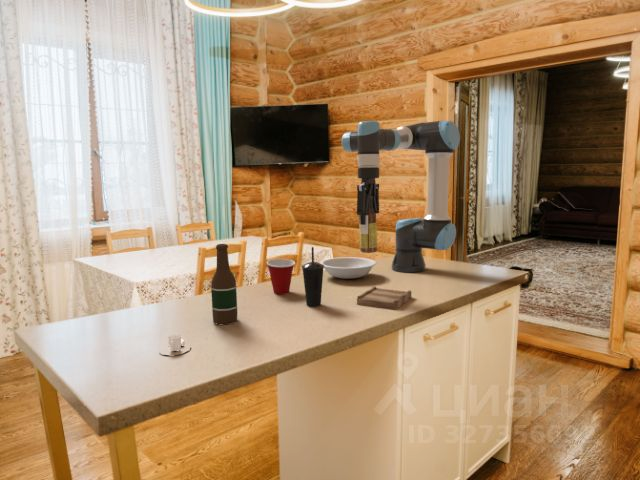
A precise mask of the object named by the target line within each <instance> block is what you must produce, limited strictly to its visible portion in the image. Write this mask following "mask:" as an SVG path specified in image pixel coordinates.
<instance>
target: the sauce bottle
mask: <svg viewBox="0 0 640 480" xmlns="http://www.w3.org/2000/svg"><path fill="white" fill-rule="evenodd" d="M372 200H373V196H370V197H369V202H368V210H367V215H368V234H360V215H358V220H359V222H358V224H359V225H358V228H359V230H358V231H359V248H360V252H362V253H367V254H369V253H370V254H371V253H376V252H378V230H377V229H378V228H377V226H378V225H377V224H378V223H377V213H376V214H375V212H374V210H373V207H372Z"/></svg>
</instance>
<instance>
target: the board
mask: <svg viewBox="0 0 640 480" xmlns="http://www.w3.org/2000/svg"><path fill="white" fill-rule="evenodd" d="M411 298H412V290H407V291H404V290H397V289H388V288H378V287H377V286H373V287H371V288H369V289H368V290H366V291H365V292H363V293H361V294H359V295H357V298H356V305H360V306H361V305H362V306H368V307H375V308H382V309H390V310H397V309H399V308H400V307H401V306H402V305H404V304H405V303H406V302H407V301H409V300H410V299H411Z"/></svg>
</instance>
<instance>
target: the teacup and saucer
mask: <svg viewBox="0 0 640 480" xmlns="http://www.w3.org/2000/svg"><path fill="white" fill-rule="evenodd" d="M167 339H168V346H170V348H169V349H170V351H171V350H172V351H177V350H181V349H182V347H181V346H182V345H185V342H186V341H185V340H184V338H182V336H181V335H180V334H173V335H170V336H168V338H167ZM172 351H171V352H172Z"/></svg>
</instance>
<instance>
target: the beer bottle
mask: <svg viewBox="0 0 640 480" xmlns="http://www.w3.org/2000/svg"><path fill="white" fill-rule="evenodd" d="M228 248H229V245H228V244H226V243H218V244H216V246H215V250H216V269H215V270H216V271H215V272H214V274H213V276H212V278H211V281H210V283H211V285H210V289H211V291H210V293H211V308H212V309H211V310H212V323H213V324H216V323H217V325H219V324H227V325H231V324H230V323H232V324H235V323H237V321H238V296H237V295H238V294H237V293H238V292H237V282H236V281H237V279H236V277H235V275H234V273H233V272H232V271H231V267H230V263H229V253H228ZM234 322H235V323H234Z"/></svg>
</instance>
